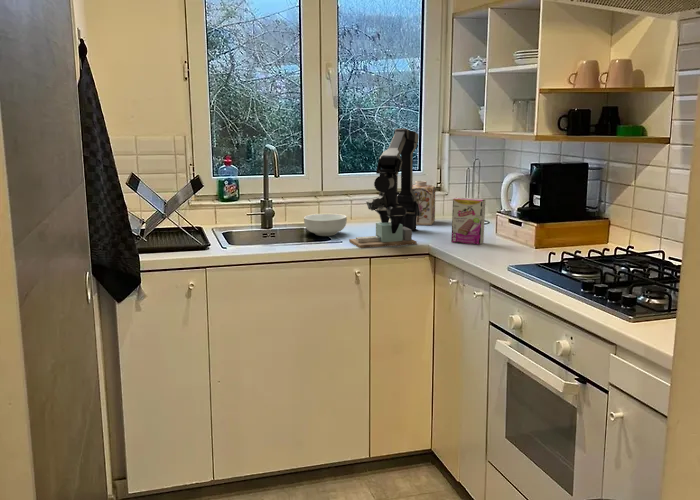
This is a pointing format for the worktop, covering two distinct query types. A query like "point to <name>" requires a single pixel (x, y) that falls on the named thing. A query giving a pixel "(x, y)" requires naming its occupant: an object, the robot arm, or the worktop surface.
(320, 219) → the cereal bowl
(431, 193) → the decorative jar
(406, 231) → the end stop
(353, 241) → the mounting board
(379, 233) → the block
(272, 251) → the worktop surface
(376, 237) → the metal rail
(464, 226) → the candy bar box
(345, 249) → the worktop surface
